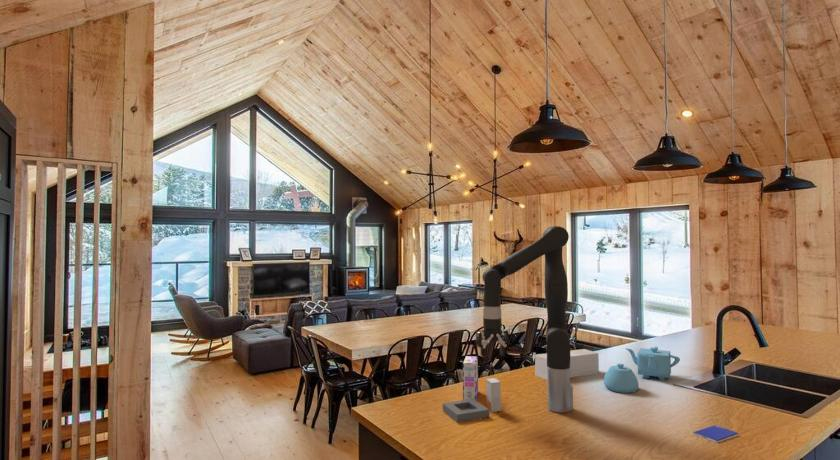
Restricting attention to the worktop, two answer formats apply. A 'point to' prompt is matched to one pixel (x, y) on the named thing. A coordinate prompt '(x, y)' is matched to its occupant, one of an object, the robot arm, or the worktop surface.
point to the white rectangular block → (571, 363)
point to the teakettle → (654, 362)
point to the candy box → (470, 378)
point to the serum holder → (465, 410)
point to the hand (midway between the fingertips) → (492, 356)
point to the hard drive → (715, 433)
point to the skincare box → (493, 394)
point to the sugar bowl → (621, 379)
